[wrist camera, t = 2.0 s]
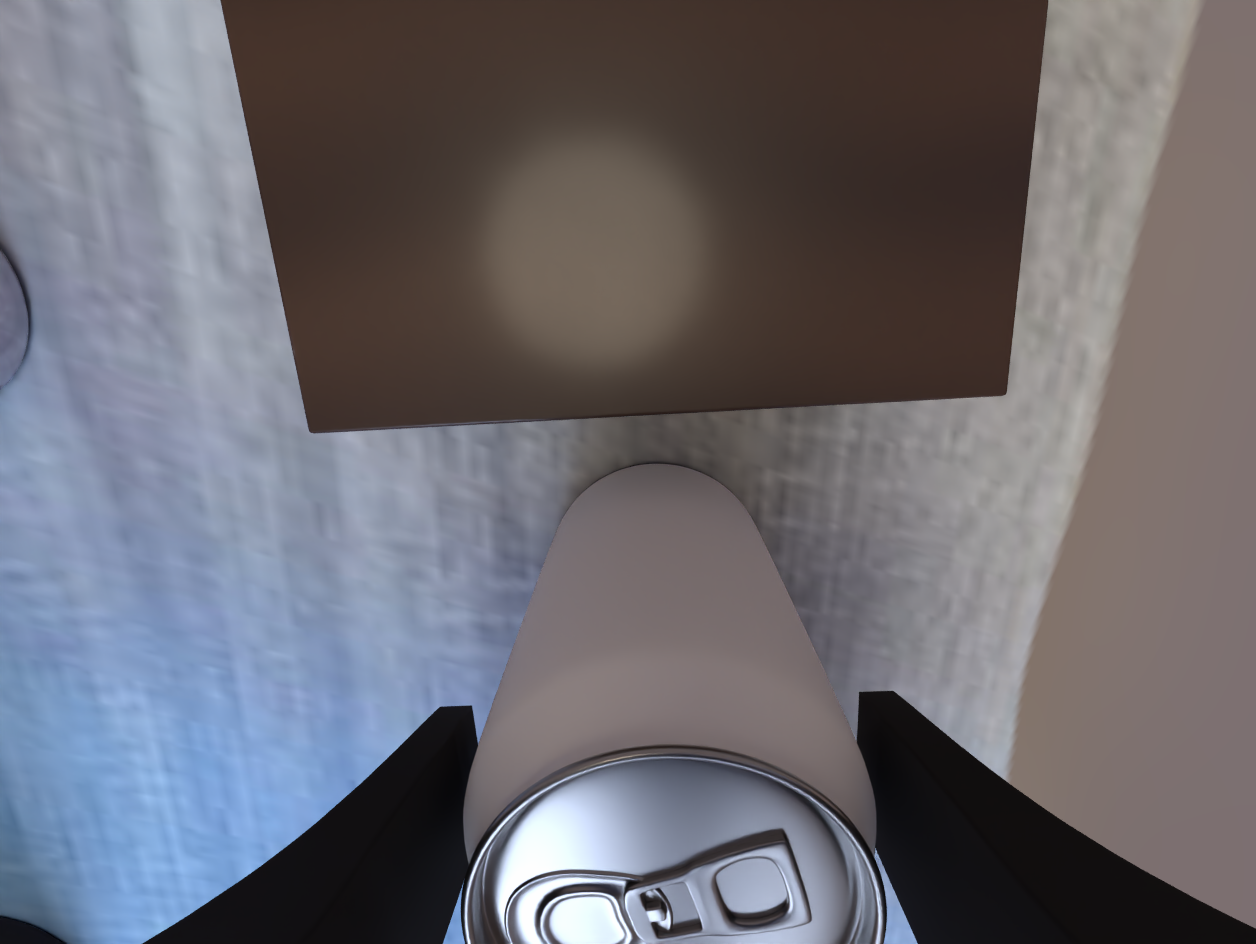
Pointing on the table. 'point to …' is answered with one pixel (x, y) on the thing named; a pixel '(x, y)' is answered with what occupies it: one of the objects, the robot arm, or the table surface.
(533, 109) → the desk shelf
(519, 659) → the can
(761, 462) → the table surface
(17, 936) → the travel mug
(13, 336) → the beer glass
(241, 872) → the table surface
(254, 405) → the table surface
